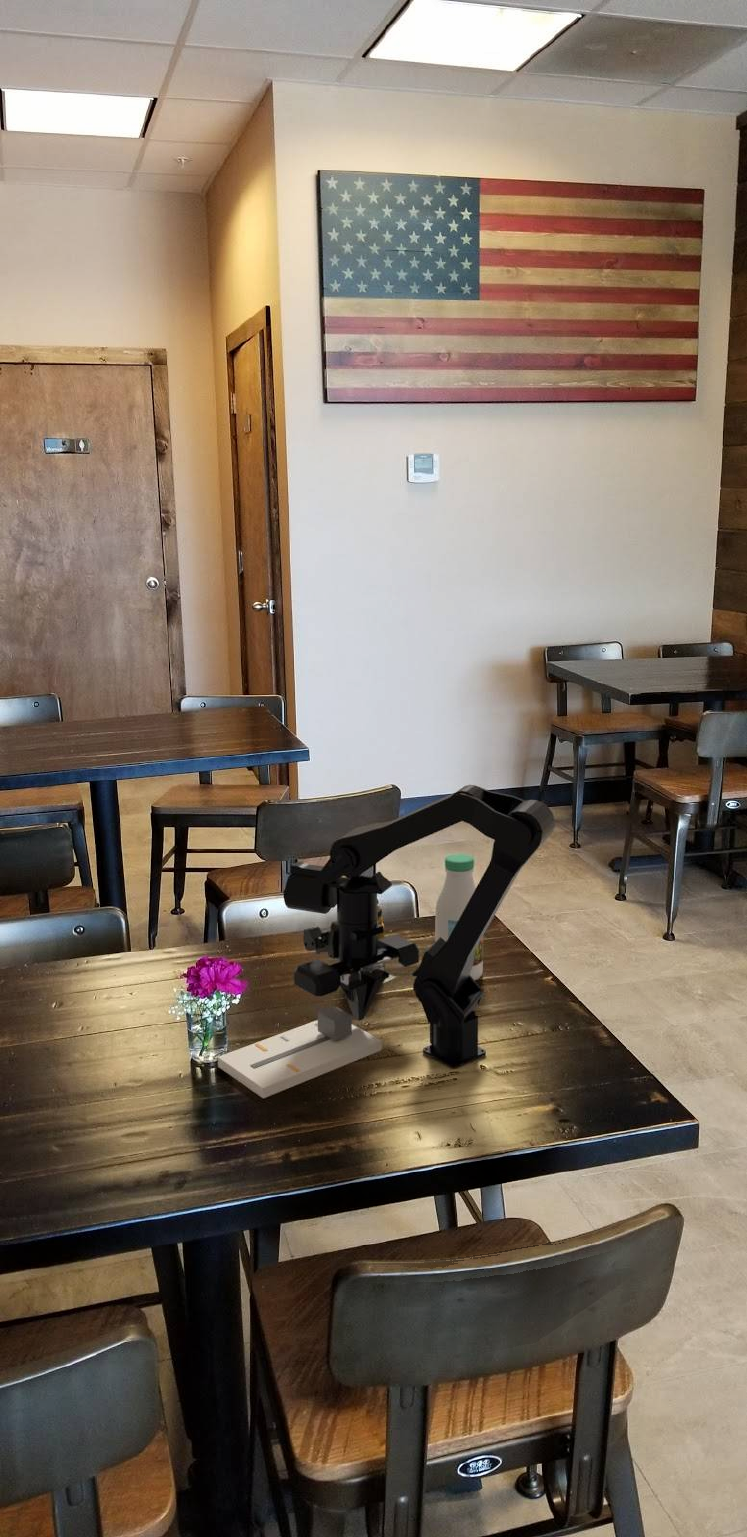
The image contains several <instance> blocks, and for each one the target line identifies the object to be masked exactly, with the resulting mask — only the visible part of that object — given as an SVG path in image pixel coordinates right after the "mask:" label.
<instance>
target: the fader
mask: <svg viewBox="0 0 747 1537" xmlns="http://www.w3.org/2000/svg"><path fill="white" fill-rule="evenodd" d="M316 1013H317V1020H318V1031H319V1032H320V1033H322V1034H324V1035H325V1036H327V1037H329V1038H331V1039H332V1040H334V1041H337V1040H339V1039H342V1038H344V1037H347V1036H349V1035H352V1024H353V1023H352V1016H353V1015H352V1014H351V1013H349V1012H347V1011H345V1010H343V1009H342V1008H339V1007H337V1006H336V1005H331V1006H329V1007H327V1008H324V1009H321V1010H318V1011H317V1012H316Z"/></svg>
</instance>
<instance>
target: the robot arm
mask: <svg viewBox="0 0 747 1537" xmlns="http://www.w3.org/2000/svg"><path fill="white" fill-rule="evenodd" d="M461 822H464V823H466V824H469V825H470V826H472V827H473V828H475V829H476V830H477V831H479V832H480V834H483V835H484V836H485V837H487V838H489V839H492V840H494V841H493V845H492V850H491V856H490V857H491V858H490V861H489V864H488V865H487V868H486V869H485V871H484V873H483V874H482V877H481V878H480V880H479V882H478V884H477V886H476V889H475V891H474V893H473V895H472V896H471V898H470V900H469V902H468V904H467V906H466V907H465V909H464V911H463V913H462V915H461V916H460V918H459V920H458V922H457V924H456V926H455V927H454V929H453V931H452V933H451V935H450V936H449V938H448V940H447V942H446V941H444V940H443V939H442V938H441V937H440V938H439V939H438V940H437V941H436V942H433V944H431V946H429V948H427V950H425V951H424V954H423V955H422V959H421V961H420V950H419V947H418V946H417V944H416V943H415V942H414V941H411V940H409V939H406V938H404V937H402V936H400V935H398V934H395V933H394V934H392V935H390V936H386V937H384V938H383V939H380V940H378V934H380V933H383V925H380V924H378V917H377V906H378V895H382V894H384V893H385V892H386V891H388V890H389V889H390V888H391V887H392V886H393V883H392V882H391V881H390V880H389V879H388V878H386V877H385V876H384V875H383V874H382V872H381V871H377V872H376V873H375V874H373V875H372V876H371V875H362V874H363V873H365V872H366V871H367V870H369V869H371V868H372V867H374V866H375V865H377V864H378V863H379V862H380V861H382V860H384V859H385V858H386V857H388V856H389V855H390V854H392V853H393V852H395V851H397V850H399V849H401V848H404V847H406V846H409V845H411V844H412V843H415V842H417V841H420V840H422V839H425V838H426V837H429V836H431V835H433V834H436V833H438V832H440V831H443V830H444V829H447V828H450V827H452V826H454V825H456V824H458V823H461ZM555 828H556V819H555V816H554V813H553V811H552V810H551V808H550V807H549V806H548V805H547V804H546V803H544V802H541V801H539V800H536V799H528V800H524V799H523V798H519V797H517V796H515V795H510V794H506V793H501V792H497V791H493V790H488V789H486V788H483V787H481V786H479V785H476V784H468V785H464V786H462V787H460V789H458V790H457V791H455V792H453V793H451V794H449V795H447V796H444V797H442V798H440V799H438V800H435V801H433V802H431V803H429V804H426V805H424V806H422V807H420V808H418V809H416V810H413V811H411V812H409V813H407V814H405V815H403V816H400V817H397V818H395V819H393V820H389V821H386V822H375V823H371V824H367V825H363V826H358V827H356V828H354V829H353V830H350V831H349V832H348V833H346V834H344V835H342V836H341V837H340V838H338V839H337V840H335V841H334V842H333V843H332V844H331V845H330V851H329V859H328V861H327V862H326V863H325V864H324V865H323V866H322V865H314V864H309V863H306V862H303V861H297V862H295V863H293V864H292V865H290V873H289V875H288V877H287V879H286V884H285V888H284V889H283V902H284V904H285V906H286V907H287V908H288V909H289V910H290V909H291V910H296V911H297V910H298V911H301V912H302V911H303V912H309V913H314V914H315V913H316V914H322V915H326V914H328V913H329V912H330V911H331V909H334V908H336V921H332V922H331V924H330V926H329V927H327V928H323V929H321V928H320V926H315V927H314V926H311V927H309V928H306V929H303V940H302V941H303V944H304V948H305V950H306V951H307V952H308V951H309V952H312V951H315V953H316V955H320V954H321V953H328V954H327V956H328V958H330V959H333V960H334V959H337V962H336V963H332V964H328V963H326V962H324V961H322V960H319V959H315V960H312V961H309V962H306V963H302V964H299V965H298V966H297V967H296V968H294V972H293V981H294V982H293V984H294V985H295V986H297V987H299V988H300V989H302V990H304V991H305V992H307V993H310V994H311V995H313V996H315V997H323V996H326V995H330V994H332V993H334V992H337V991H338V989H339V988H341V990H342V992H343V995H344V996H345V998H346V1000H347V1003H348V1006H349V1009H350V1010H351V1013H352V1016H353V1018H354V1019H355V1021H358V1022H359V1021H362V1020H364V1019H365V1017H366V1014H367V1013H368V1011H369V1009H370V1007H371V1005H372V1003H373V1001H374V999H375V997H376V995H377V993H378V992H379V990H380V988H381V986H382V985H383V984H384V983H383V982H384V980H385V979H387V978H389V974H390V973H389V972H387V971H386V970H385V971H383V962H385V963H386V962H388V961H392V960H394V959H396V958H397V959H398V963H399V964H400V965H401V966H403V967H404V968H407V967H410V966H413V965H416V964H418V963H420V964H419V967H418V968H416V969H415V970H414V971H413V973H412V977H415V979H414V981H413V983H412V984H413V985H412V989H413V991H414V993H415V996H416V998H417V999H418V1001H419V1002H420V1003H421V1006H422V1007H423V1011H424V1014H425V1018H426V1020H427V1022H428V1024H429V1043H430V1045H428V1046H425V1047H423V1048H422V1052H423V1054H425V1055H427V1056H429V1057H431V1058H433V1059H434V1060H436V1061H438V1062H440V1063H442V1064H444V1065H445V1066H447V1067H449V1068H450V1069H451V1068H452V1069H457V1068H459V1067H461V1066H463V1065H466V1064H467V1063H470V1062H472V1061H474V1060H477V1059H479V1058H481V1057H484V1056H485V1055H487V1050H486V1049H484V1048H482V1047H481V1046H479V1016H478V1015H476V1012H475V1009H476V1007H477V1006H478V1005H480V1003H481V1002H482V999H483V997H484V994H485V991H484V989H483V988H482V987H481V986H480V984H478V983H477V982H476V981H477V980H474V979H473V978H472V977H471V976H470V972H471V969H472V966H473V961H474V954H475V950H476V947H477V946H478V944H479V942H480V940H481V939H482V937H483V938H484V935H485V933H486V932H487V930H488V928H489V926H490V924H491V922H492V921H493V919H494V917H495V915H496V914H497V912H498V910H499V908H500V907H501V905H502V904H503V901H504V899H505V898H506V896H507V894H508V893H509V890H510V889H511V887H512V885H513V884H514V882H515V880H516V879H517V876H518V875H519V873H520V872H521V870H522V868H524V866H525V865H526V864H527V863H528V862H529V860H530V859H531V858H532V857H534V855H535V854H536V853H537V852H538V850H539V849H540V848H541V847H542V846H543V845H544V843H545V842H547V840H548V839H549V837H551V835H552V834H553V832H554V830H555Z"/></svg>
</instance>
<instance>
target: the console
mask: <svg viewBox="0 0 747 1537" xmlns="http://www.w3.org/2000/svg"><path fill="white" fill-rule="evenodd" d="M381 1051H382V1039H380V1038H378V1037H375V1036H374V1035H372V1034H370V1033H369V1032H367V1031H365V1030H364V1029H361V1028H360V1027H358V1026H356V1025H354V1024H353V1023H352V1035H349V1036H347V1037H344V1038H342V1039H339V1040H337V1041H334V1040H332V1039H331V1038H329V1037H327V1036H325V1035H324V1034H322V1033H320V1032H319V1031H318V1019H316V1020H314V1021H311V1022H308V1023H306V1024H304V1025H301V1026H297V1027H295V1028H292V1029H289V1030H287V1031H284V1032H281V1033H279V1034H276V1035H273V1036H270V1037H268V1038H265V1039H263V1040H259V1041H256V1042H255V1043H252V1044H249V1045H246V1046H244V1047H240V1048H238V1049H236V1050H233V1051H230V1052H227V1053H224V1054H222V1055H219V1056H217V1067H218V1068H219V1069H221V1070H222V1071H223V1072H225V1073H226V1074H228V1075H229V1076H230V1077H232V1078H233V1079H235V1080H236V1081H238V1082H239V1083H240V1084H242V1085H243V1086H245V1087H246V1088H248V1089H249V1090H250V1091H252V1092H253V1093H254V1094H257V1095H258V1096H259V1097H260V1098H262V1099H266V1098H268V1097H271V1096H273V1095H276V1094H278V1093H280V1092H283V1091H285V1090H288V1089H289V1088H293V1087H295V1086H297V1085H300V1084H302V1083H305V1082H306V1081H309V1080H312V1079H314V1078H317V1077H320V1076H321V1075H325V1074H327V1073H329V1072H332V1071H334V1070H336V1069H339V1068H342V1067H344V1066H346V1065H349V1064H351V1063H354V1062H356V1061H358V1060H361V1059H363V1058H366V1057H368V1056H371V1055H373V1054H376V1053H379V1052H381Z"/></svg>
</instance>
